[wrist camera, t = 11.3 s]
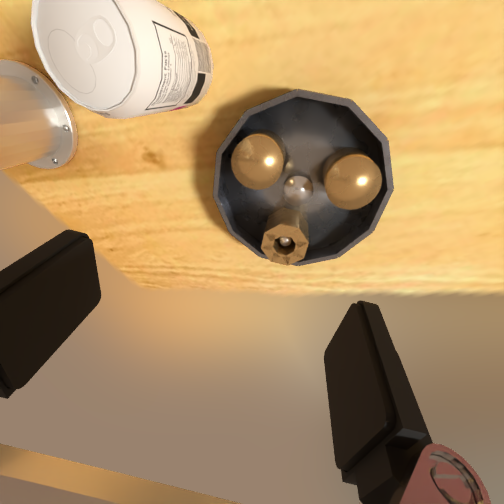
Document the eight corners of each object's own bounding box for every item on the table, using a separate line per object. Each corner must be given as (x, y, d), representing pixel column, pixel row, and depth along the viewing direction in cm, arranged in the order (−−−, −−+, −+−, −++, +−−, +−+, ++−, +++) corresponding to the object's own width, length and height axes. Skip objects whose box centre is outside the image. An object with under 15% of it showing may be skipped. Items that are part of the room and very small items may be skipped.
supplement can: (173, 120, 32) (90, 142, 20) (129, 46, 29) (-5, 15, 16) (228, 83, 29) (172, 81, 17) (186, -5, 26) (77, -90, 13)
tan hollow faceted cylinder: (271, 204, 35) (266, 221, 30) (311, 213, 34) (312, 231, 30) (263, 239, 38) (258, 258, 33) (300, 248, 37) (300, 268, 33)
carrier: (215, 233, 40) (202, 255, 35) (231, 75, 29) (216, 73, 24) (347, 263, 39) (354, 290, 34) (415, 111, 28) (441, 117, 23)
